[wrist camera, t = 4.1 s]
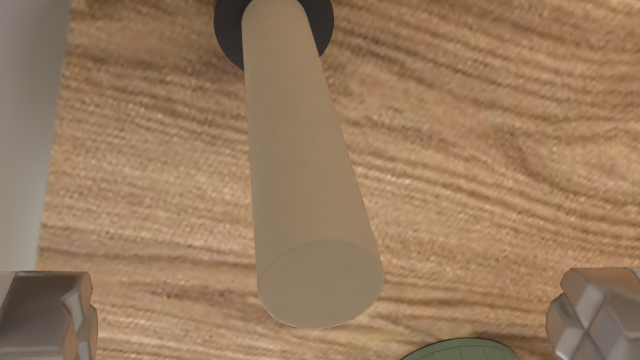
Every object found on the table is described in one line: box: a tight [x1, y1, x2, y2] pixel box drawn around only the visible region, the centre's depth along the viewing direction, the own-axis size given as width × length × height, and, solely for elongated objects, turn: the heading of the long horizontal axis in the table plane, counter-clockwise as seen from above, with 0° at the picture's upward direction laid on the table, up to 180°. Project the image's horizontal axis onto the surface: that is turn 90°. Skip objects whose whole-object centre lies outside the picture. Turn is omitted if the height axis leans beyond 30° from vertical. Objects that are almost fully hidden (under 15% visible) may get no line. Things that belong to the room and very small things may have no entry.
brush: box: [214, 0, 384, 329], centre depth 16 cm, size 4×4×15 cm
